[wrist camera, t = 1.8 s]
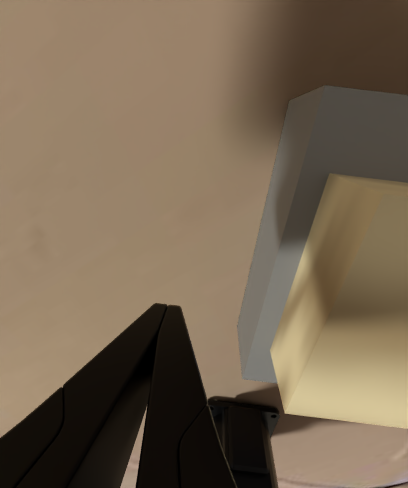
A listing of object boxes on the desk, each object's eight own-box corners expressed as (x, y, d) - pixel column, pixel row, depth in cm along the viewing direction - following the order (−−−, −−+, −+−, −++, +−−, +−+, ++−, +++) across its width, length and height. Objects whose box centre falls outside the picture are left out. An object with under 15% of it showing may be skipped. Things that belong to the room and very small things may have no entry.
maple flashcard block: (384, 364, 12) (432, 431, 9) (269, 350, 12) (284, 413, 9) (499, 194, 8) (638, 224, 5) (329, 173, 8) (384, 193, 6)
